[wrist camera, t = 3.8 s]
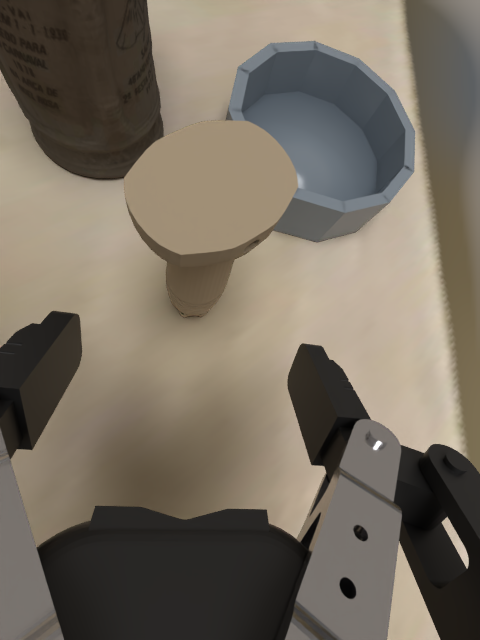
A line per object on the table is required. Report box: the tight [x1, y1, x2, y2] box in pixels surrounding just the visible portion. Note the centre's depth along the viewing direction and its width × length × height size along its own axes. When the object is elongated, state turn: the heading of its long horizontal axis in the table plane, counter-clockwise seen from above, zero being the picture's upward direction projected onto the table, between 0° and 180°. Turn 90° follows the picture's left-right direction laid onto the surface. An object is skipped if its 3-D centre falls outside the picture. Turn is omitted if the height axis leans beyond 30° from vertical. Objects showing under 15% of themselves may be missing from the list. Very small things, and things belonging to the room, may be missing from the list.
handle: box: [124, 120, 298, 318], centre depth 18 cm, size 5×6×15 cm
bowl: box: [226, 41, 415, 242], centre depth 28 cm, size 17×17×5 cm
